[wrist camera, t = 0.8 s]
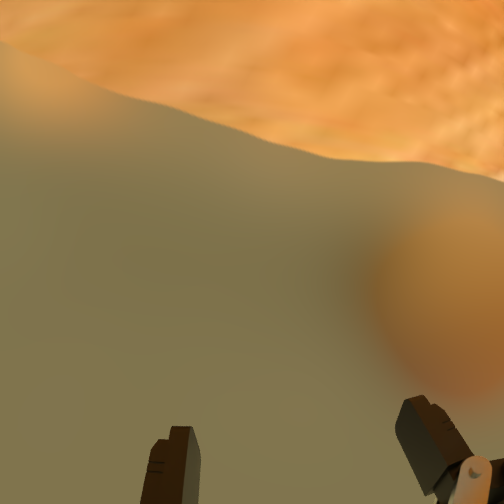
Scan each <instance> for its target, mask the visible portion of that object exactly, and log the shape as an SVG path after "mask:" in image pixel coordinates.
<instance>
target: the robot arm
mask: <svg viewBox="0 0 504 504" xmlns="http://www.w3.org/2000/svg"><path fill="white" fill-rule="evenodd" d="M395 432H396V436H397V438H398V440H399V442H400V444H401V446H402V449H403V451H404V453H405V455H406V457H407V459H408V461H409V463H410V465H411V467H412V469H413V471H414V474H415V475H416V478H417V480H418V482H419V484H420V487H421V489H422V491H423V493H424V495H425V496H427V495H430V494H432V493H435V495H436V499H435V500H434V503H433V504H504V458H503V459H497V460H492V461H488V460H487V459H486V458H484V457H481V456H475V455H474V454H473V453H472V452H471V450H470V449H469V447H468V446H467V444H466V442H465V441H464V439H463V438H462V436H461V435H460V433H459V432H458V430H457V429H456V428H455V425H454V424H453V422H452V421H450V418H449V416H448V415H447V414H446V412H445V411H444V410H443V409H442V408H440V407H439V406H438V405H436V404H432V405H430V403H429V402H428V400H427V399H426V397H425V396H424V395H419V396H416V397H412V398H409V399H406V400H404V402H403V405H402V408H401V410H400V413H399V416H398V418H397V421H396V424H395ZM200 465H201V456H200V449H199V446H198V443H197V439H196V436H195V433H194V430H193V427H191V426H172V427H171V430H170V435H169V440H165V439H159V440H158V441H157V442H156V443H155V445H154V446H153V447H152V449H151V452H150V456H149V463H148V466H147V473H146V476H145V481H144V486H143V491H142V496H141V501H140V504H198V496H199V480H200Z"/></svg>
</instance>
